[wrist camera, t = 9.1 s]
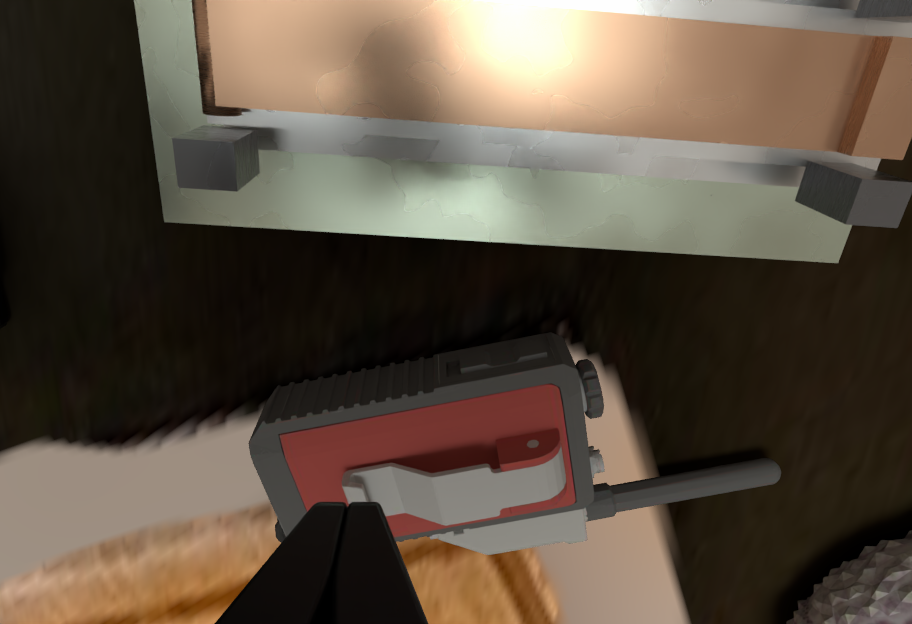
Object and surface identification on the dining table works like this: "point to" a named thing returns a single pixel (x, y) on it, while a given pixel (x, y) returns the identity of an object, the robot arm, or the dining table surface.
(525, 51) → the strap
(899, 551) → the sea urchin shell
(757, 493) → the dining table surface
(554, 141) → the heat sink board
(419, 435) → the walkie-talkie
